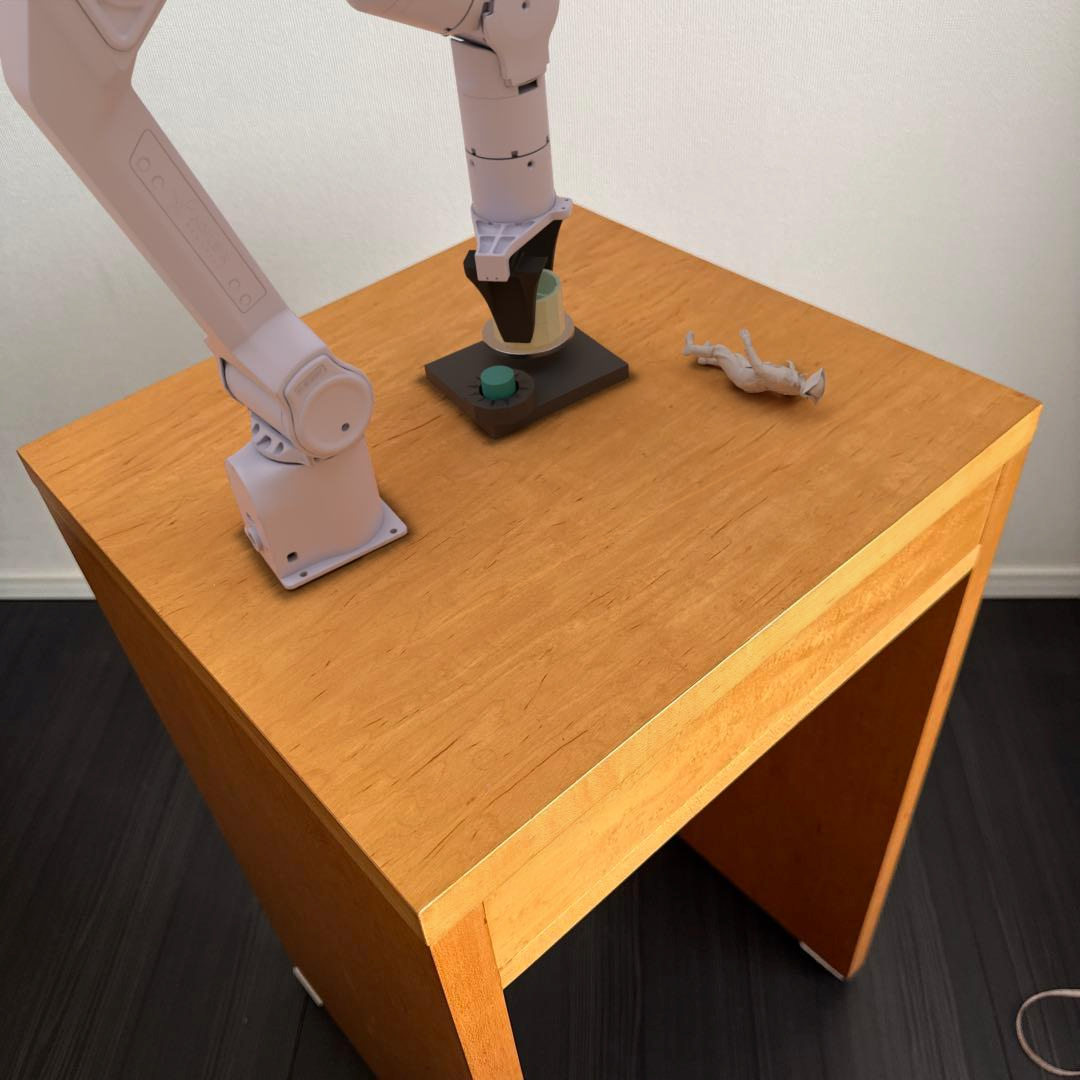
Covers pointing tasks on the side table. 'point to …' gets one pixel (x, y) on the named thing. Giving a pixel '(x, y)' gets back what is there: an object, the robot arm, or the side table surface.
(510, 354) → the scale plate
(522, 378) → the scale
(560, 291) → the pale green cup
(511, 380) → the tare button
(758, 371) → the soldier figure
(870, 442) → the side table surface
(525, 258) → the robot arm
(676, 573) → the side table surface
